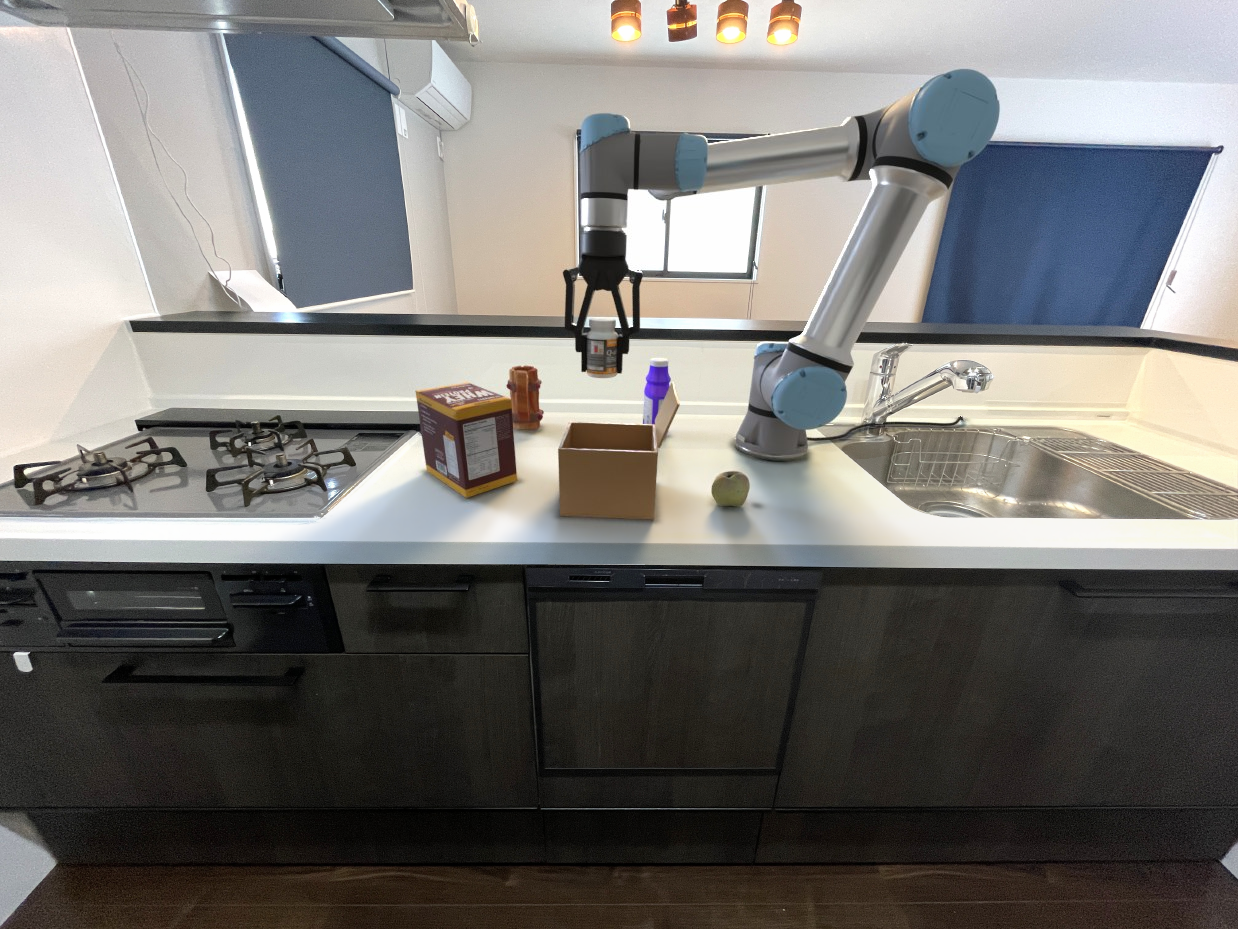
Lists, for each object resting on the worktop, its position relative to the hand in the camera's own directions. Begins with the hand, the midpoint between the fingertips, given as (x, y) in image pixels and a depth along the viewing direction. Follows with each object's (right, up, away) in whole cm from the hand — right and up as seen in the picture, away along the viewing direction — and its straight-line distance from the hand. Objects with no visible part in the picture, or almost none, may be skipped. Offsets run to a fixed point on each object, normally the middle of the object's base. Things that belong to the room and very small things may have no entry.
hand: (602, 370), depth 89 cm
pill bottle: (0, -1, 0) cm, 1 cm away
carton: (+1, -23, -5) cm, 24 cm away
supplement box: (-24, -19, +2) cm, 31 cm away
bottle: (+12, -10, +26) cm, 30 cm away
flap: (+10, -9, -12) cm, 18 cm away
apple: (+22, -24, -6) cm, 33 cm away
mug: (-18, -10, +25) cm, 32 cm away
